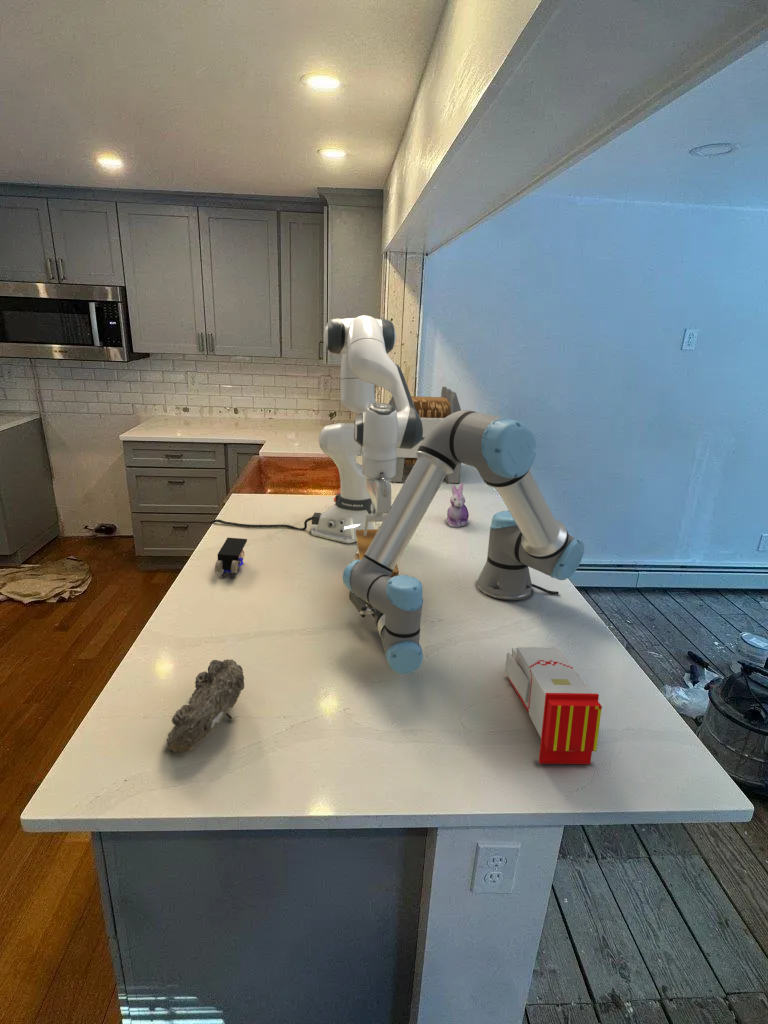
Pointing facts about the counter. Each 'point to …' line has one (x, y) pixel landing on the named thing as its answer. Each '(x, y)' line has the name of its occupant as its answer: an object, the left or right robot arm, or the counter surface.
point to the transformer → (428, 428)
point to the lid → (369, 538)
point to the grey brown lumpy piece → (206, 705)
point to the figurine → (457, 508)
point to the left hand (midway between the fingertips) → (377, 517)
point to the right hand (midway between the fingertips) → (377, 579)
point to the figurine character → (230, 556)
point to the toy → (556, 704)
